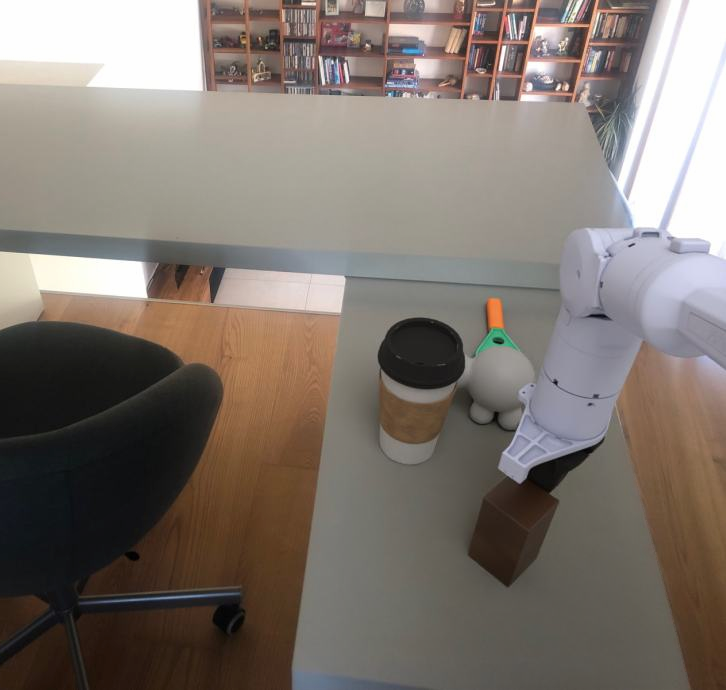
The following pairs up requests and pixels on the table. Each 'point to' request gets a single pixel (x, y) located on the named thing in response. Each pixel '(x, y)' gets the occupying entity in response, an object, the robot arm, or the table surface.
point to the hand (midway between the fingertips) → (540, 485)
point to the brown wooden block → (511, 528)
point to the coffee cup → (417, 386)
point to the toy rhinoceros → (497, 384)
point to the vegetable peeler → (495, 327)
